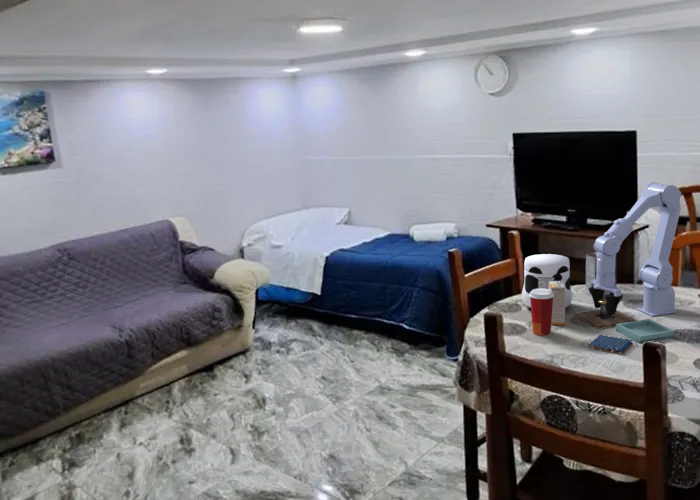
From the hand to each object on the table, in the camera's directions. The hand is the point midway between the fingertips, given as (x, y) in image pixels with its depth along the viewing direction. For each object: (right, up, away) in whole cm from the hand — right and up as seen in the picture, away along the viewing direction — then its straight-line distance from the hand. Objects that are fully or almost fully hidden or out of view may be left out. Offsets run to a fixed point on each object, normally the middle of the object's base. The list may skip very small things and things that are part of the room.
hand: (604, 311), depth 219 cm
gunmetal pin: (0, -3, +1) cm, 3 cm away
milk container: (-15, 0, +17) cm, 22 cm away
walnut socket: (0, -3, +1) cm, 3 cm away
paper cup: (-23, -7, -7) cm, 25 cm away
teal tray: (+7, -6, -14) cm, 17 cm away
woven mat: (-7, -9, -22) cm, 24 cm away
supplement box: (-15, -4, +3) cm, 16 cm away
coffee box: (+9, +4, +26) cm, 28 cm away
